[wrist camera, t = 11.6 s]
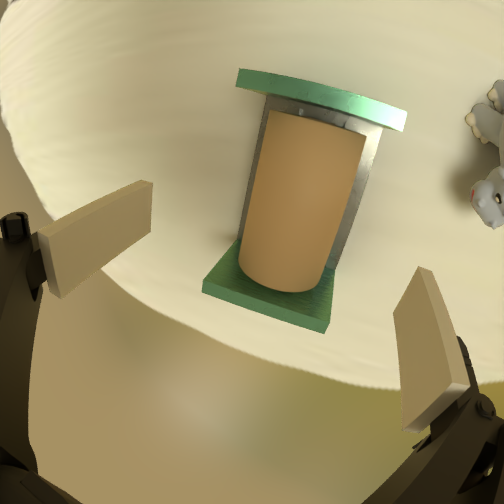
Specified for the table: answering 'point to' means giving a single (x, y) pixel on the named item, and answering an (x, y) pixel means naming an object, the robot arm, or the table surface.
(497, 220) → the hippopotamus toy
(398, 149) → the table surface
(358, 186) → the holder
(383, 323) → the table surface
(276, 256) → the cylinder
